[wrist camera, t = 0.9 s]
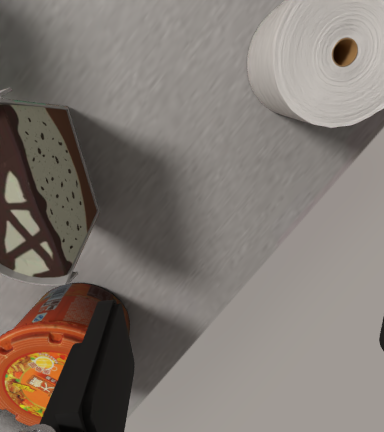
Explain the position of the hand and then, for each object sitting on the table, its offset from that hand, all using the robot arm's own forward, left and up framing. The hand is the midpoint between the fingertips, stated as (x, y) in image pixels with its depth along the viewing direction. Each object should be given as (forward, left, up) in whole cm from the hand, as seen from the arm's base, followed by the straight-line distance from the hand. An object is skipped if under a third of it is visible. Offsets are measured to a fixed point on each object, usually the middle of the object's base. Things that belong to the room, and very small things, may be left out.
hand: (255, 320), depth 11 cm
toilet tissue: (-14, +3, -27) cm, 30 cm away
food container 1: (+10, -14, -27) cm, 32 cm away
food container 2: (+28, -2, -27) cm, 39 cm away
